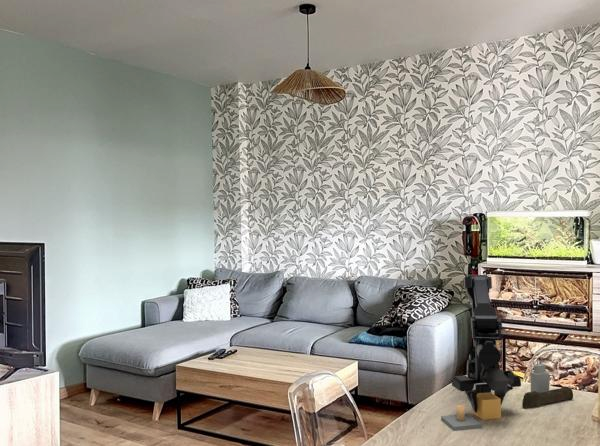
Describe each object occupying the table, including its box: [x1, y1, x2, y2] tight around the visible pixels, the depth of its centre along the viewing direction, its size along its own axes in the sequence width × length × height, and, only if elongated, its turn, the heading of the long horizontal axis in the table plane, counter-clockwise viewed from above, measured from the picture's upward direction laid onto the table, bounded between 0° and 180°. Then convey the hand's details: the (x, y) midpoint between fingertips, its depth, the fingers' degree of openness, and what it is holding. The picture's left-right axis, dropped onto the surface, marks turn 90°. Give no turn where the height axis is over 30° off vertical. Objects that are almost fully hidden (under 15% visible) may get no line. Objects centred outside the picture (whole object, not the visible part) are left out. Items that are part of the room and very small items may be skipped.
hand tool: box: [521, 385, 574, 409], centre depth 169 cm, size 19×4×5 cm, turn 112°
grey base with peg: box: [440, 404, 482, 431], centre depth 154 cm, size 8×8×5 cm
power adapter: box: [530, 356, 550, 393], centre depth 176 cm, size 3×5×12 cm, turn 111°
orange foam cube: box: [472, 391, 502, 421], centre depth 160 cm, size 6×6×6 cm
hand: (486, 411), depth 160 cm, fingers open, 7 cm apart
